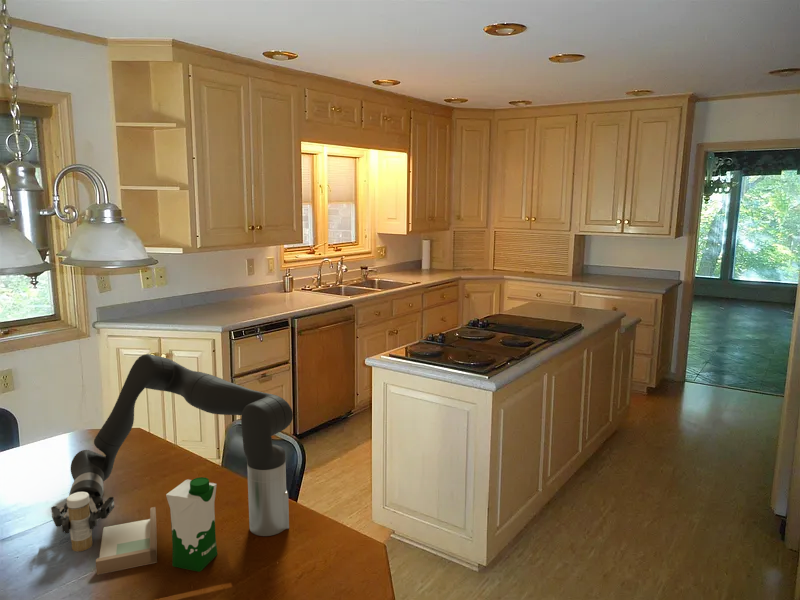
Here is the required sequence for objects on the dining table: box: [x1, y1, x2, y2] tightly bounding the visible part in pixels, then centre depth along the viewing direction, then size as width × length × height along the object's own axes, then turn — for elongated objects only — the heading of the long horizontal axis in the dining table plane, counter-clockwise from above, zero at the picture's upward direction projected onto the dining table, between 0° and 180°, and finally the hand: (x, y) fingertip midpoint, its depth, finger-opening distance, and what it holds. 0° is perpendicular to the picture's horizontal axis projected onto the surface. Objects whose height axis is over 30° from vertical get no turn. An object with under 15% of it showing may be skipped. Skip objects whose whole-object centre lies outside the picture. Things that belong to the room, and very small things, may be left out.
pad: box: [116, 538, 150, 555], centre depth 137 cm, size 7×7×1 cm
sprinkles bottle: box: [66, 492, 94, 552], centre depth 138 cm, size 5×5×14 cm
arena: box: [95, 506, 158, 575], centre depth 140 cm, size 12×20×4 cm, turn 22°
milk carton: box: [165, 476, 218, 573], centre depth 133 cm, size 9×9×20 cm
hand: (79, 527), depth 135 cm, fingers closed on sprinkles bottle, 4 cm apart
